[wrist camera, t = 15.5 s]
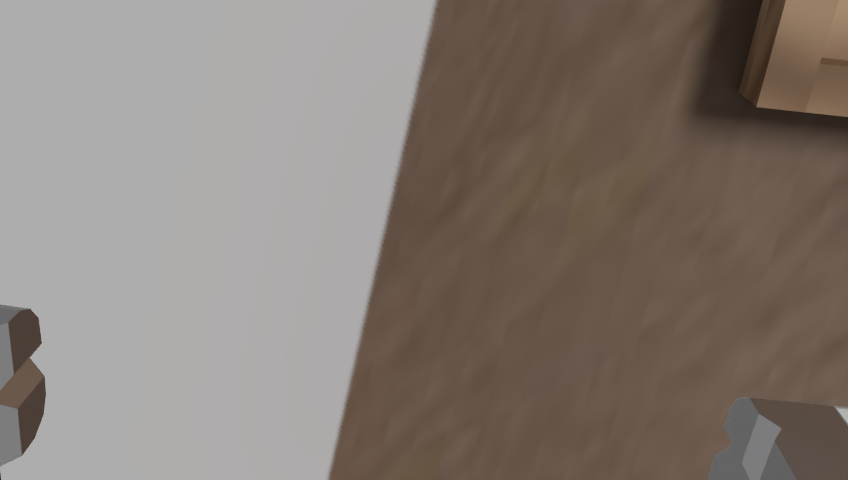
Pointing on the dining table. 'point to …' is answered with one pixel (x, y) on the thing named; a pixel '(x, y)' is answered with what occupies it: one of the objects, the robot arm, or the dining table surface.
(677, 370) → the dining table surface
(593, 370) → the dining table surface
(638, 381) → the dining table surface
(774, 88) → the keyhole board
